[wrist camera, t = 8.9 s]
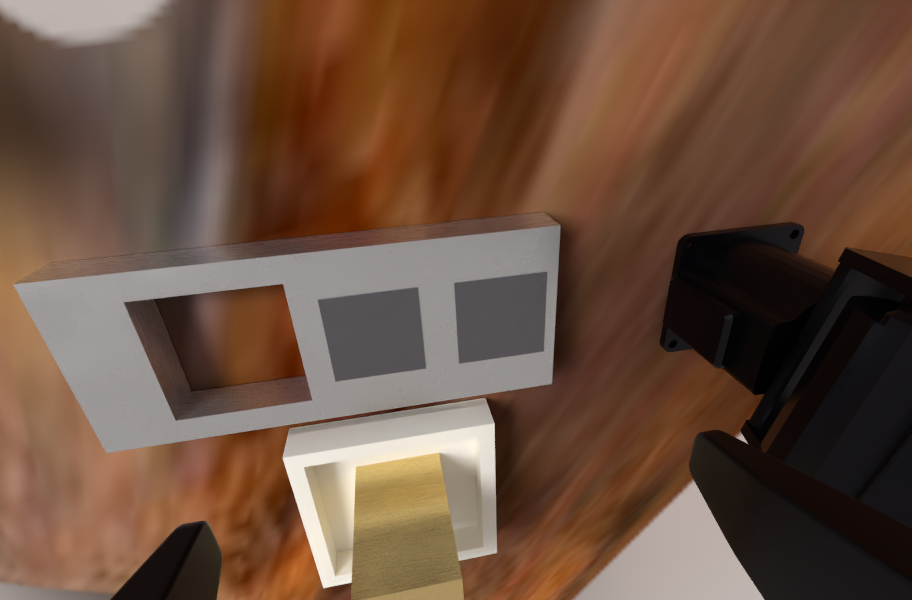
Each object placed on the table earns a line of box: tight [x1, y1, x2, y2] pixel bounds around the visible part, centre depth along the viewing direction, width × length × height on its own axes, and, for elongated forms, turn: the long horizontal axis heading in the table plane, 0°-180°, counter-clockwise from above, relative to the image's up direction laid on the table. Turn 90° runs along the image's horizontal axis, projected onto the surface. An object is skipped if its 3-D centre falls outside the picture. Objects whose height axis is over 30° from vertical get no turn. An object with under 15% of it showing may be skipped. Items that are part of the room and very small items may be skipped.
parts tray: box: [283, 398, 497, 588], centre depth 25 cm, size 10×10×2 cm
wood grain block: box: [351, 453, 464, 600], centre depth 22 cm, size 4×4×7 cm
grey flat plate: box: [13, 212, 561, 453], centre depth 20 cm, size 20×8×2 cm, turn 93°
